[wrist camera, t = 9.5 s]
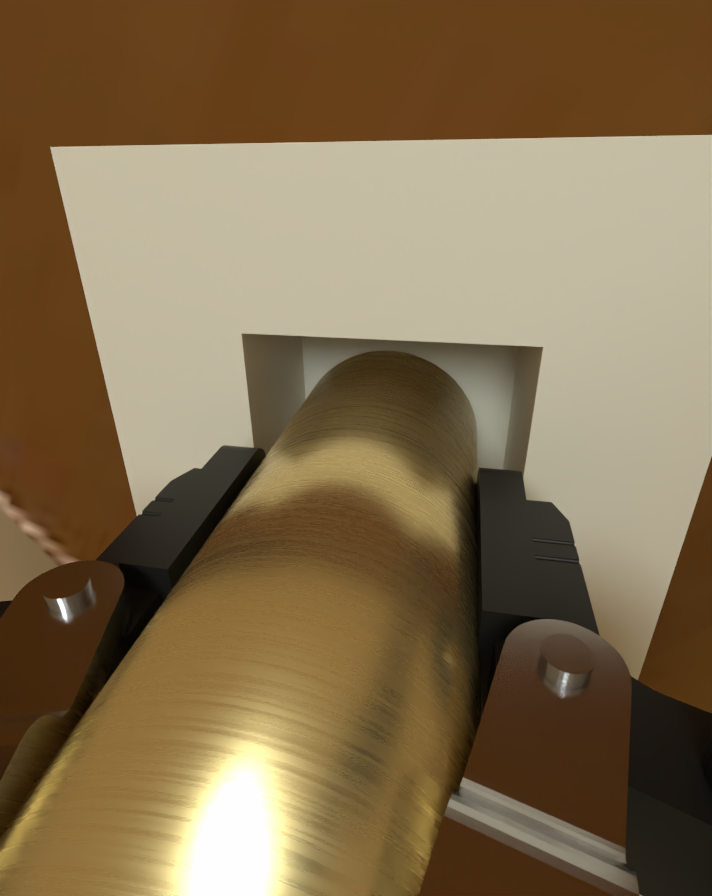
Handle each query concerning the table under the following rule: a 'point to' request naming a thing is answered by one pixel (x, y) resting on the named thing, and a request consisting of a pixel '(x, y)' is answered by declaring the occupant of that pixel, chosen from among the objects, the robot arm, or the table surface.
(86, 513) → the table surface
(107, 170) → the socket stand
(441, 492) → the brass peg
